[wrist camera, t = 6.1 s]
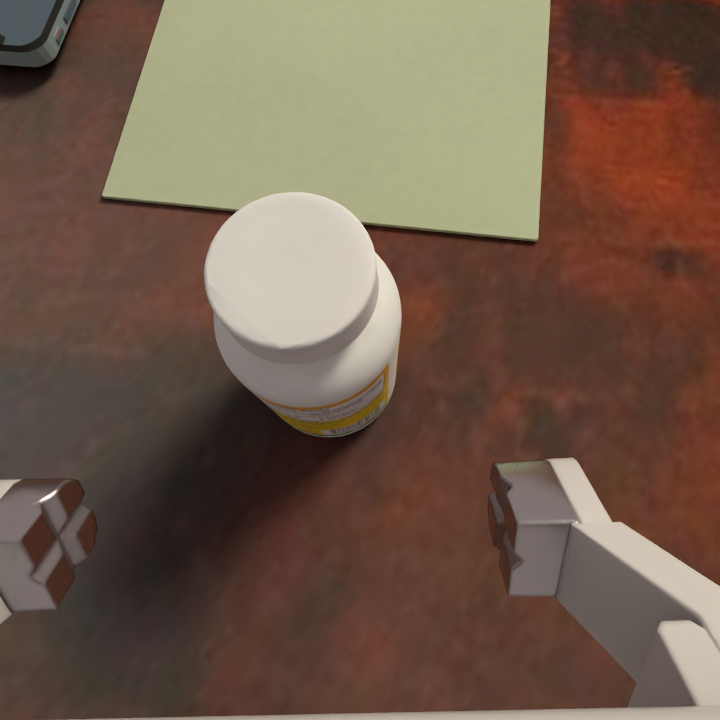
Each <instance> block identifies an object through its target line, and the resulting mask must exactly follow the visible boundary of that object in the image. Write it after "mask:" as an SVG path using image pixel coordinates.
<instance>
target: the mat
mask: <svg viewBox="0 0 720 720" xmlns="http://www.w3.org/2000/svg"><path fill="white" fill-rule="evenodd" d="M549 18H550V0H165V1H164V4H163V7H162V10H161V14H160V17H159V20H158V23H157V26H156V29H155V32H154V35H153V38H152V41H151V45H150V48H149V51H148V54H147V57H146V60H145V63H144V66H143V69H142V72H141V76H140V79H139V82H138V85H137V88H136V91H135V94H134V97H133V100H132V104H131V107H130V110H129V113H128V116H127V119H126V122H125V125H124V128H123V131H122V135H121V138H120V141H119V144H118V147H117V150H116V153H115V156H114V159H113V162H112V166H111V169H110V172H109V175H108V178H107V181H106V184H105V187H104V190H103V193H102V197H103V198H107V199H117V200H127V201H137V202H147V203H156V204H166V205H176V206H186V207H196V208H206V209H216V210H226V211H236V212H237V211H238V210H240V209H241V208H243V207H244V206H246V205H248V204H249V203H251V202H253V201H256V200H258V199H260V198H263V197H266V196H269V195H272V194H279V193H287V192H303V193H310V194H315V195H319V196H322V197H326V198H328V199H330V200H333V201H335V202H337V203H338V204H340V205H342V206H343V207H345V208H346V209H347V210H348V211H350V212H351V213H352V214H353V215H354V216H355V217H356V218H357V219H358V220H359V221H360V222H361V223H362V224H365V225H375V226H385V227H395V228H405V229H414V230H424V231H434V232H444V233H454V234H464V235H474V236H484V237H494V238H504V239H514V240H524V241H534V242H537V240H538V231H539V211H540V192H541V173H542V153H543V134H544V115H545V95H546V76H547V56H548V37H549Z"/></svg>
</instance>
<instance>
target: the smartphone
mask: <svg viewBox="0 0 720 720" xmlns="http://www.w3.org/2000/svg"><path fill="white" fill-rule="evenodd" d="M79 2H80V0H0V65H12V66H26V67H40V66H43V65H45V64H48V63H49V62H51V61H52V60H53V59H55V58H56V56H57V54H58V52H59V49H60V47H61V44H62V42H63V40H64V37H65V35H66V33H67V30H68V28H69V25H70V23H71V21H72V18H73V16H74V14H75V11H76V9H77V6H78V4H79Z"/></svg>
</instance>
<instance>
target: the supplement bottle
mask: <svg viewBox="0 0 720 720" xmlns="http://www.w3.org/2000/svg"><path fill="white" fill-rule="evenodd" d="M204 280H205V289H206V293H207V297H208V300H209V303H210V305H211V307H212V309H213V311H214V330H215V336H216V340H217V344H218V347H219V350H220V352H221V355H222V357H223V359H224V361H225V363H226V364H227V366H228V367H229V369H230V370H231V372H232V373H233V374H234V375H235V377H236V378H237V379H238V380H239V381H240V382H241V383H242V384H243V385H244V386H245V387H246V388H248V389H249V390H250V391H251V392H252V393H253V394H255V395H256V396H257V397H258V398H259V399H260V400H261V401H263V402H264V403H265V404H266V405H267V406H268V407H270V408H271V409H272V410H273V411H274V412H275V413H276V414H277V415H278V416H280V417H281V418H282V419H283V420H284V421H285V422H286V423H288V424H289V425H291V426H292V427H294V428H295V429H297V430H299V431H301V432H304V433H306V434H309V435H313V436H319V437H339V436H344V435H348V434H351V433H354V432H356V431H358V430H360V429H362V428H364V427H365V426H367V425H368V424H370V423H371V422H372V421H373V420H375V419H376V418H377V417H378V416H379V415H380V413H381V412H382V411H383V410H384V408H385V407H386V405H387V404H388V402H389V399H390V397H391V395H392V392H393V389H394V385H395V379H396V369H397V359H398V348H399V339H400V330H401V303H400V297H399V293H398V289H397V286H396V283H395V281H394V279H393V277H392V275H391V273H390V271H389V269H388V268H387V266H386V265H385V263H384V262H383V261H382V260H381V258H380V257H379V256H378V255H377V254H376V253H375V251H374V247H373V244H372V241H371V239H370V237H369V235H368V233H367V231H366V230H365V228H364V226H363V225H362V223H361V222H360V221H359V220H358V219H357V218H356V217H355V216H354V215H353V214H352V213H351V212H350V211H348V210H347V209H346V208H345V207H343V206H342V205H340V204H338V203H337V202H335V201H333V200H330V199H328V198H326V197H322V196H319V195H315V194H310V193H303V192H287V193H279V194H272V195H269V196H266V197H263V198H260V199H258V200H256V201H253V202H251V203H249V204H248V205H246V206H244V207H243V208H241V209H240V210H238V211H237V212H236V213H234V214H233V215H232V216H231V217H230V218H229V219H228V220H227V221H226V222H225V223H224V224H223V225H222V227H221V228H220V229H219V231H218V232H217V234H216V235H215V237H214V239H213V241H212V243H211V245H210V248H209V250H208V253H207V257H206V262H205V269H204Z"/></svg>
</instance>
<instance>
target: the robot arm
mask: <svg viewBox="0 0 720 720" xmlns="http://www.w3.org/2000/svg"><path fill="white" fill-rule="evenodd" d="M490 480H491V483H492V486H493V489H494V490H493V491H492V492H491V493H490V494H489V495H488V522H489V528H490V533H491V537H492V541H493V545H494V546H495V547H497V548H498V549H499V550H500V561H499V566H500V570H501V573H502V577H503V580H504V583H505V587H506V590H507V594H508V596H556V599H557V600H558V601H559V602H560V603H561V604H562V605H563V607H564V608H565V609H566V610H567V611H568V612H569V613H570V614H571V615H572V616H573V617H574V618H575V619H576V620H577V621H578V622H579V623H580V624H581V625H582V626H583V627H584V628H585V629H586V630H587V631H588V632H589V633H590V635H591V636H592V637H593V638H594V639H595V640H596V641H597V642H598V643H599V644H600V645H601V646H602V647H603V648H604V649H605V650H606V651H607V652H608V653H609V654H610V655H611V656H612V657H613V658H614V659H615V660H616V661H617V663H618V664H619V665H620V666H621V667H622V668H623V669H624V670H625V671H626V672H627V673H628V674H629V675H630V676H631V677H632V678H633V679H634V680H635V681H636V682H637V684H636V686H635V689H634V692H633V694H632V697H631V699H630V702H629V705H628V707H627V708H589V709H541V710H493V711H445V712H397V713H350V714H303V715H255V716H209V717H162V718H115V719H68V720H720V586H718V585H717V584H715V583H713V582H712V581H710V580H709V579H707V578H706V577H704V576H703V575H701V574H700V573H698V572H697V571H695V570H694V569H692V568H690V567H689V566H687V565H686V564H684V563H683V562H681V561H680V560H678V559H677V558H675V557H674V556H672V555H671V554H669V553H667V552H666V551H664V550H663V549H661V548H660V547H658V546H657V545H655V544H654V543H652V542H651V541H649V540H648V539H646V538H645V537H643V536H641V535H640V534H638V533H637V532H635V531H634V530H632V529H631V528H629V527H628V526H626V525H625V524H623V523H622V522H612V521H611V519H610V517H609V515H608V514H607V512H606V510H605V509H604V507H603V505H602V503H601V502H600V500H599V498H598V496H597V495H596V493H595V491H594V489H593V488H592V486H591V484H590V482H589V481H588V479H587V477H586V476H585V474H584V472H583V470H582V469H581V467H580V465H579V463H578V462H577V461H576V460H575V459H574V458H559V459H546V460H529V461H507V462H493V464H492V467H491V474H490ZM84 494H85V492H84V490H83V488H82V486H81V484H80V482H79V481H78V480H75V479H71V478H65V479H23V480H0V624H1V623H2V622H4V621H5V620H6V619H7V618H8V617H9V616H10V615H11V612H21V611H38V610H55V609H57V608H58V606H59V605H60V603H61V601H62V599H63V598H64V596H65V594H66V593H67V591H68V589H69V588H70V586H71V584H72V583H73V581H74V579H75V574H74V569H73V568H74V567H76V566H77V565H78V564H80V563H81V562H82V561H84V560H85V559H86V558H87V557H88V555H89V554H90V552H91V550H92V548H93V546H94V543H95V539H96V534H97V523H96V518H95V515H94V513H93V510H92V509H90V508H89V507H88V506H86V505H85V504H84V503H82V502H81V501H82V499H83V496H84Z"/></svg>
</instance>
